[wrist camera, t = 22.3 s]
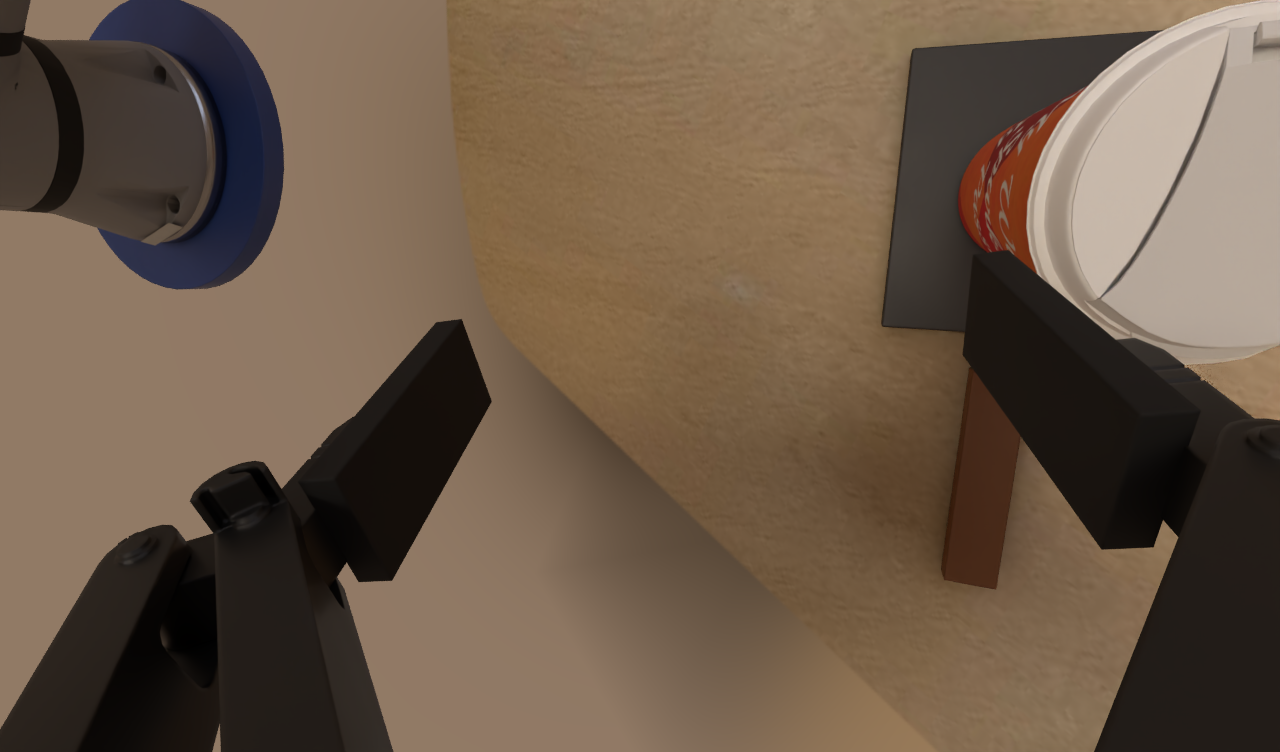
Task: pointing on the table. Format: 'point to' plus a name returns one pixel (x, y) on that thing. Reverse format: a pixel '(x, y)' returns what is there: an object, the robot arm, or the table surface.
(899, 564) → the table surface
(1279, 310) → the coffee cup
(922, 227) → the spatula
